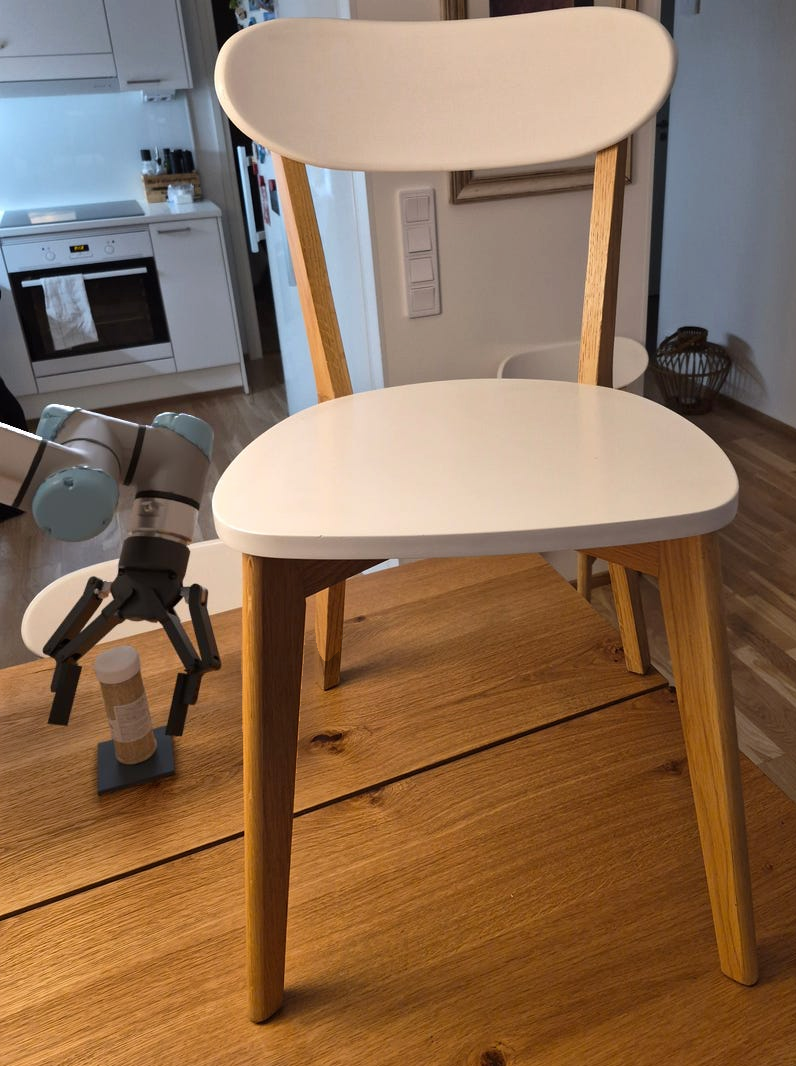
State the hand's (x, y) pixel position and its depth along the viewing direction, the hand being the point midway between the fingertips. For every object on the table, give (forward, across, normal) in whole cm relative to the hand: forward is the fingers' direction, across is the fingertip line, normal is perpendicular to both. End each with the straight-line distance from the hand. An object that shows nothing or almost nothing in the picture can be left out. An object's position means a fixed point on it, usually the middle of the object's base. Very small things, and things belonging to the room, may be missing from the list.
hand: (114, 730), depth 93 cm
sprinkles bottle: (+2, 0, +6) cm, 7 cm away
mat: (+3, 0, +6) cm, 7 cm away
